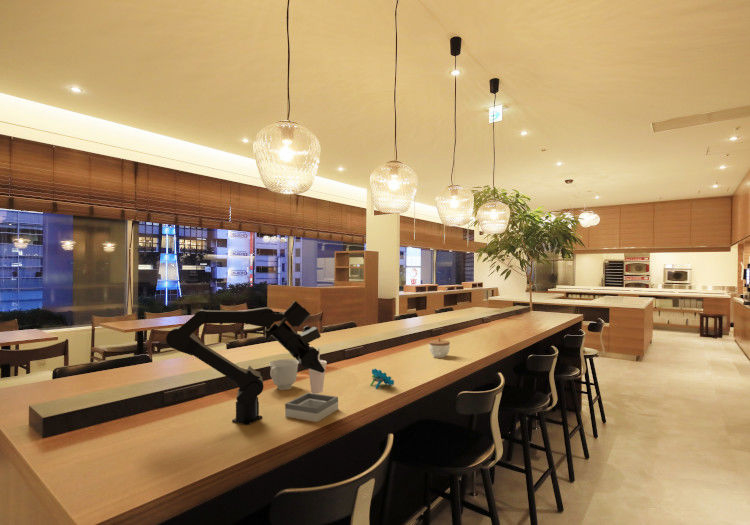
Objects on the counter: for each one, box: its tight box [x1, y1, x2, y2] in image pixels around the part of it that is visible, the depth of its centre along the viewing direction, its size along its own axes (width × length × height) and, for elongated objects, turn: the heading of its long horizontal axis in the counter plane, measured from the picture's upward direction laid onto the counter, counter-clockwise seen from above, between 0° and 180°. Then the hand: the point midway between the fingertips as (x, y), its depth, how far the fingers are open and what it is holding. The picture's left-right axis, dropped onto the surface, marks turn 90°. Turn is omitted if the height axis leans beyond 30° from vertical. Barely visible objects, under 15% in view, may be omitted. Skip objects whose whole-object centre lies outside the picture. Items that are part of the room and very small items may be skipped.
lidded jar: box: [428, 338, 451, 359], centre depth 203 cm, size 11×11×9 cm
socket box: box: [284, 392, 339, 423], centre depth 125 cm, size 12×12×4 cm
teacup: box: [268, 358, 300, 391], centre depth 151 cm, size 12×15×10 cm
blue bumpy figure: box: [369, 368, 395, 389], centre depth 151 cm, size 11×6×10 cm
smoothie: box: [308, 348, 328, 394], centre depth 127 cm, size 6×6×14 cm
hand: (321, 369), depth 128 cm, fingers closed on smoothie, 6 cm apart
